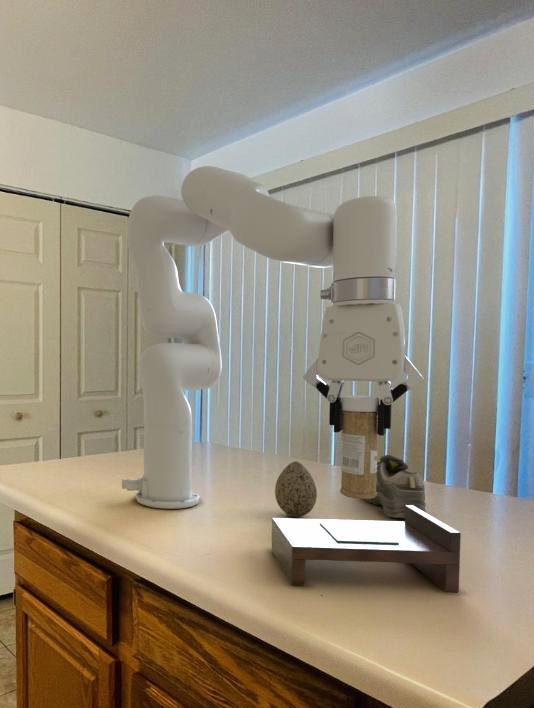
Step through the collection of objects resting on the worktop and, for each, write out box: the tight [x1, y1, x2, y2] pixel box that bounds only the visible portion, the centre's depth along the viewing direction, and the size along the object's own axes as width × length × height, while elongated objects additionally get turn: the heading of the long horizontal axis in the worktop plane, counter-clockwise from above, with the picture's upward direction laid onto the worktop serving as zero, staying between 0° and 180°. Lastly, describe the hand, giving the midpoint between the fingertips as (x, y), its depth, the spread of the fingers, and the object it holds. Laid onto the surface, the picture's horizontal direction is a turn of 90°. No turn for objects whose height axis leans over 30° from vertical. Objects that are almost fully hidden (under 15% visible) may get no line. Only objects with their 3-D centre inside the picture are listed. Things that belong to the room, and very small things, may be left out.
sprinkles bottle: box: [339, 395, 380, 500], centre depth 70 cm, size 5×5×14 cm
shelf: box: [270, 505, 462, 593], centre depth 71 cm, size 20×12×7 cm, turn 85°
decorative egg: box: [274, 461, 318, 518], centre depth 95 cm, size 7×7×10 cm
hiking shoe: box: [363, 454, 427, 519], centre depth 101 cm, size 9×21×12 cm
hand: (359, 431), depth 70 cm, fingers closed on sprinkles bottle, 4 cm apart
